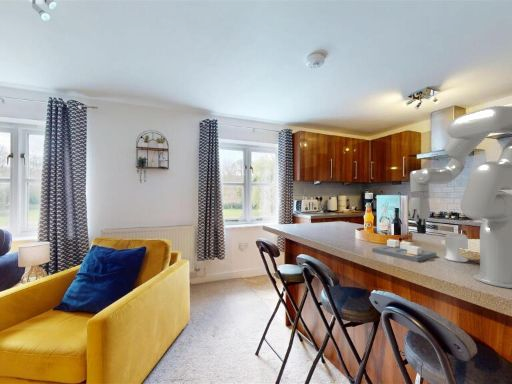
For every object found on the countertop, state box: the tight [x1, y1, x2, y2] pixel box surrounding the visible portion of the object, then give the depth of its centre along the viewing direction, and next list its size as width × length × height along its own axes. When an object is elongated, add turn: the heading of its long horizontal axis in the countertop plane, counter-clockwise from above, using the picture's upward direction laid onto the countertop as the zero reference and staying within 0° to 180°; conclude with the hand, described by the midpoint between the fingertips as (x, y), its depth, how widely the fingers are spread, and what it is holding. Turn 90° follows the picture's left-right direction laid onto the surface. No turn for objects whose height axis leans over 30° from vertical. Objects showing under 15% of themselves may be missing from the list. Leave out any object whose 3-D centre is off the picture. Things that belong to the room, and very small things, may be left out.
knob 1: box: [386, 238, 400, 247], centre depth 131 cm, size 4×4×4 cm
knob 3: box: [407, 245, 422, 255], centre depth 115 cm, size 4×4×4 cm
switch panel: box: [371, 244, 437, 263], centre depth 123 cm, size 22×18×2 cm
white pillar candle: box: [444, 232, 469, 263], centre depth 111 cm, size 8×8×12 cm
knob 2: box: [399, 240, 414, 250], centre depth 125 cm, size 4×4×4 cm
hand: (421, 233), depth 117 cm, fingers closed
